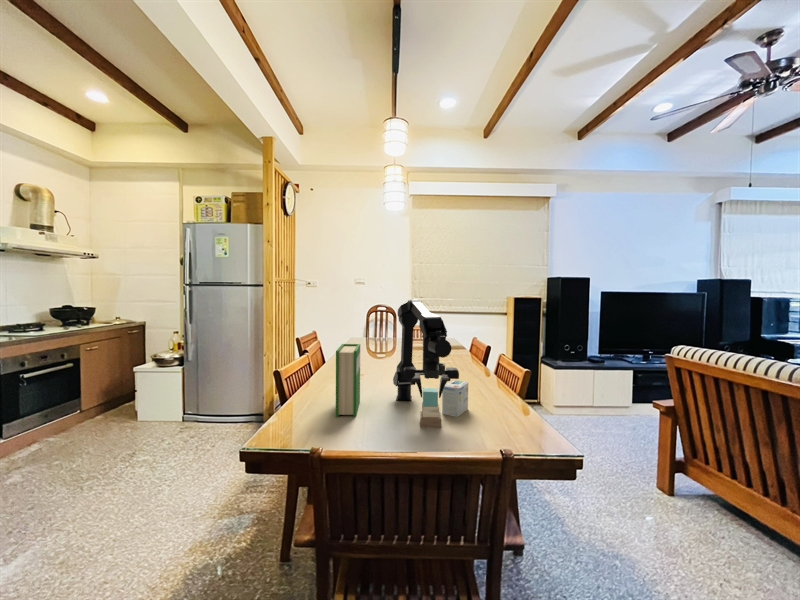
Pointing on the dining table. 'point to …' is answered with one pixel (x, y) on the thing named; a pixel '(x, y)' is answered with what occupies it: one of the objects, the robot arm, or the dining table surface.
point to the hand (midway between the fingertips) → (430, 397)
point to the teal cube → (430, 397)
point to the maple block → (430, 411)
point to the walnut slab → (430, 421)
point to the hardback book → (347, 379)
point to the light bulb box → (455, 398)
